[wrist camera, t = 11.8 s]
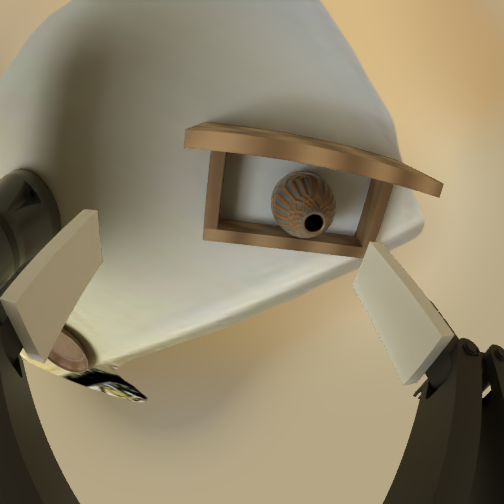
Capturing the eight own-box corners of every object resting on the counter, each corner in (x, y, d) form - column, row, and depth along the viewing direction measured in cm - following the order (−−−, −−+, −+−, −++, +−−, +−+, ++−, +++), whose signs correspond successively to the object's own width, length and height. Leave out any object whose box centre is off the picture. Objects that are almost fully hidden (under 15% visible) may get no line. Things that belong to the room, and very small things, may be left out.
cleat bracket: (194, 227, 34) (178, 272, 25) (203, 122, 28) (185, 129, 19) (369, 249, 36) (400, 292, 28) (396, 160, 30) (443, 183, 21)
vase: (327, 214, 34) (350, 248, 26) (274, 225, 34) (283, 262, 27) (320, 161, 30) (346, 181, 23) (263, 172, 31) (270, 195, 23)
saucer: (30, 306, 41) (23, 315, 39) (87, 330, 44) (82, 340, 41) (44, 350, 48) (40, 358, 46) (96, 371, 50) (92, 380, 48)
